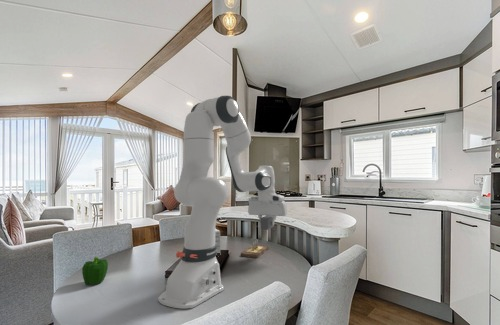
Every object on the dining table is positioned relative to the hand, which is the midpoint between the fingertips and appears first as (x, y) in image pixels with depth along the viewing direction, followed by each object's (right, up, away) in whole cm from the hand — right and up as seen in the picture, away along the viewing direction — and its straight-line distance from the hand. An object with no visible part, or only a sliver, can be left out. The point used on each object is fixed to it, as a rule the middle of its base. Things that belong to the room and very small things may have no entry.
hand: (267, 224), depth 122 cm
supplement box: (-28, -16, 0) cm, 33 cm away
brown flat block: (-6, -15, +3) cm, 17 cm away
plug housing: (0, -2, 0) cm, 2 cm away
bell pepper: (-68, -15, -30) cm, 76 cm away
